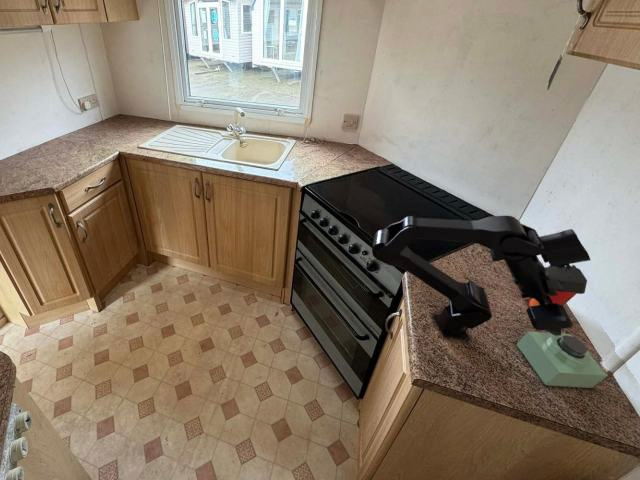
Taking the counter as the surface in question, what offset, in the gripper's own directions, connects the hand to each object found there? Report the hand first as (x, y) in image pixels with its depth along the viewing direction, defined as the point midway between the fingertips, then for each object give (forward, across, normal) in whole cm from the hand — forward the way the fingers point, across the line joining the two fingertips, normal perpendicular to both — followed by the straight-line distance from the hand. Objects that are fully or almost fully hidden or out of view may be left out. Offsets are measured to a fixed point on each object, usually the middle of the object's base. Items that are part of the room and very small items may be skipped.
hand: (550, 318), depth 71 cm
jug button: (+10, -1, -1) cm, 10 cm away
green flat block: (+15, -1, +4) cm, 15 cm away
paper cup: (+17, +19, +2) cm, 25 cm away
